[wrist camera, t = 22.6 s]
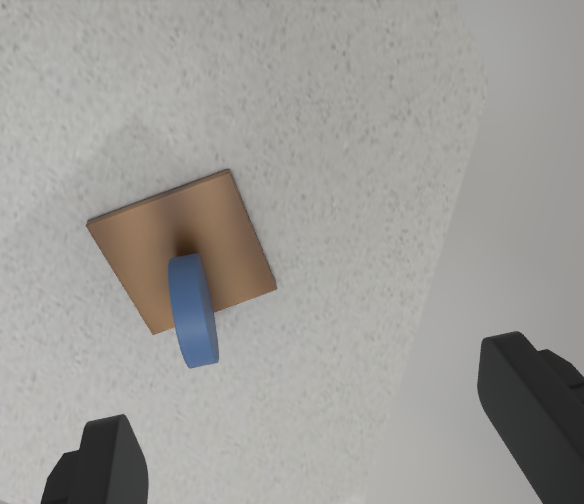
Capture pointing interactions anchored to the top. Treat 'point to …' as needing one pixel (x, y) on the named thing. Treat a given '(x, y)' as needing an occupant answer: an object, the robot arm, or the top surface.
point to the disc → (192, 310)
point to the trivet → (184, 246)
